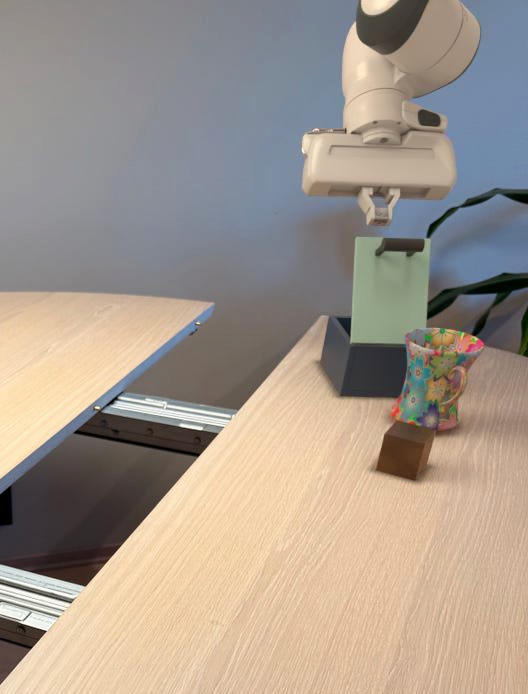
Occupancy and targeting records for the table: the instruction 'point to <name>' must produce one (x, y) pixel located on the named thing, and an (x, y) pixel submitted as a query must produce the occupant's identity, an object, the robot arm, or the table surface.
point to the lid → (389, 289)
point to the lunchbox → (362, 363)
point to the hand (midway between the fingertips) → (379, 223)
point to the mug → (435, 376)
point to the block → (405, 450)
